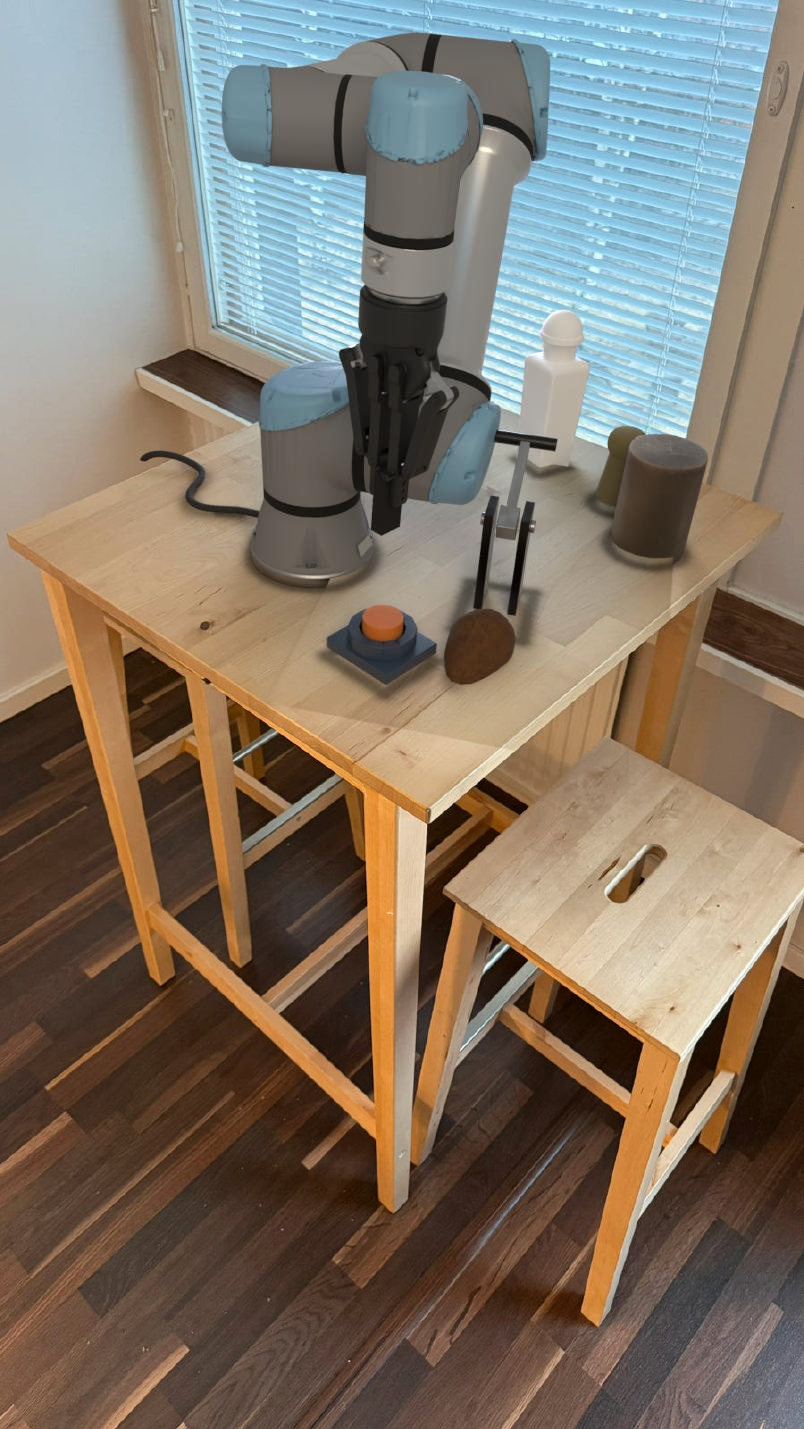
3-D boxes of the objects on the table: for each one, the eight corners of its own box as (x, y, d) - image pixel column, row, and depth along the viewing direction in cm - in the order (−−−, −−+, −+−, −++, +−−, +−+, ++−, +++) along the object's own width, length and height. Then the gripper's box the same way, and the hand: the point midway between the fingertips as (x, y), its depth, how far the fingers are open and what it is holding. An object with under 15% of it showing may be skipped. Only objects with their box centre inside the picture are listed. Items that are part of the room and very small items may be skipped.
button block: (326, 656, 113) (326, 623, 110) (376, 626, 118) (378, 594, 115) (385, 695, 109) (387, 662, 106) (435, 662, 113) (438, 629, 110)
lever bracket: (470, 582, 125) (481, 481, 116) (534, 593, 124) (551, 492, 115) (454, 629, 118) (465, 525, 109) (523, 641, 117) (540, 537, 108)
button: (353, 629, 110) (353, 616, 109) (381, 612, 113) (382, 599, 112) (383, 647, 108) (383, 634, 107) (411, 630, 111) (412, 617, 109)
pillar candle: (657, 576, 128) (685, 468, 118) (593, 545, 133) (615, 439, 123) (697, 548, 134) (727, 442, 124) (634, 519, 139) (658, 415, 129)
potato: (423, 681, 111) (428, 629, 106) (469, 633, 118) (475, 582, 113) (481, 705, 108) (488, 653, 104) (524, 654, 115) (532, 603, 110)
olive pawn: (634, 495, 143) (651, 422, 136) (637, 518, 139) (655, 443, 132) (591, 491, 144) (605, 418, 136) (593, 513, 139) (608, 438, 132)
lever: (496, 437, 119) (497, 424, 116) (556, 446, 118) (558, 433, 115) (474, 534, 114) (474, 522, 112) (536, 544, 113) (537, 533, 111)
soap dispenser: (546, 449, 153) (569, 299, 138) (573, 468, 148) (600, 315, 134) (510, 458, 150) (530, 306, 135) (537, 478, 146) (561, 323, 131)
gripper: (319, 274, 88) (313, 514, 104) (431, 322, 82) (407, 570, 97) (379, 257, 92) (365, 490, 108) (491, 302, 86) (458, 542, 102)
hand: (385, 528), depth 103 cm, fingers closed
